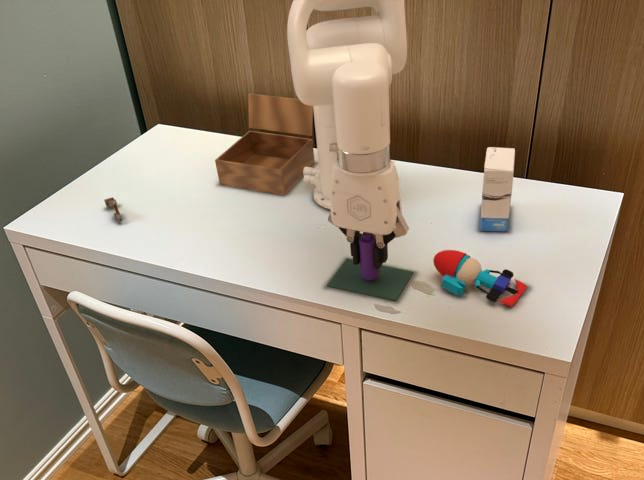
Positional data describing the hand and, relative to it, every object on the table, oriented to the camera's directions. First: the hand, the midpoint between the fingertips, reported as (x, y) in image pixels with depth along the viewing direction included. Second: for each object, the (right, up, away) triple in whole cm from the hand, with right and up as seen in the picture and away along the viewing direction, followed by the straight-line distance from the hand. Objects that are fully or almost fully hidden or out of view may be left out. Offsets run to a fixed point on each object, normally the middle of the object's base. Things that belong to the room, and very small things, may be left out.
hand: (369, 261), depth 114 cm
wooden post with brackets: (-48, +12, +25) cm, 55 cm away
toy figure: (+17, -4, -1) cm, 17 cm away
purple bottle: (0, -2, +2) cm, 3 cm away
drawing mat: (0, -3, +3) cm, 4 cm away
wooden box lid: (-17, +34, +31) cm, 49 cm away
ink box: (+23, +9, +13) cm, 28 cm away
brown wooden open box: (-19, +22, +32) cm, 44 cm away
